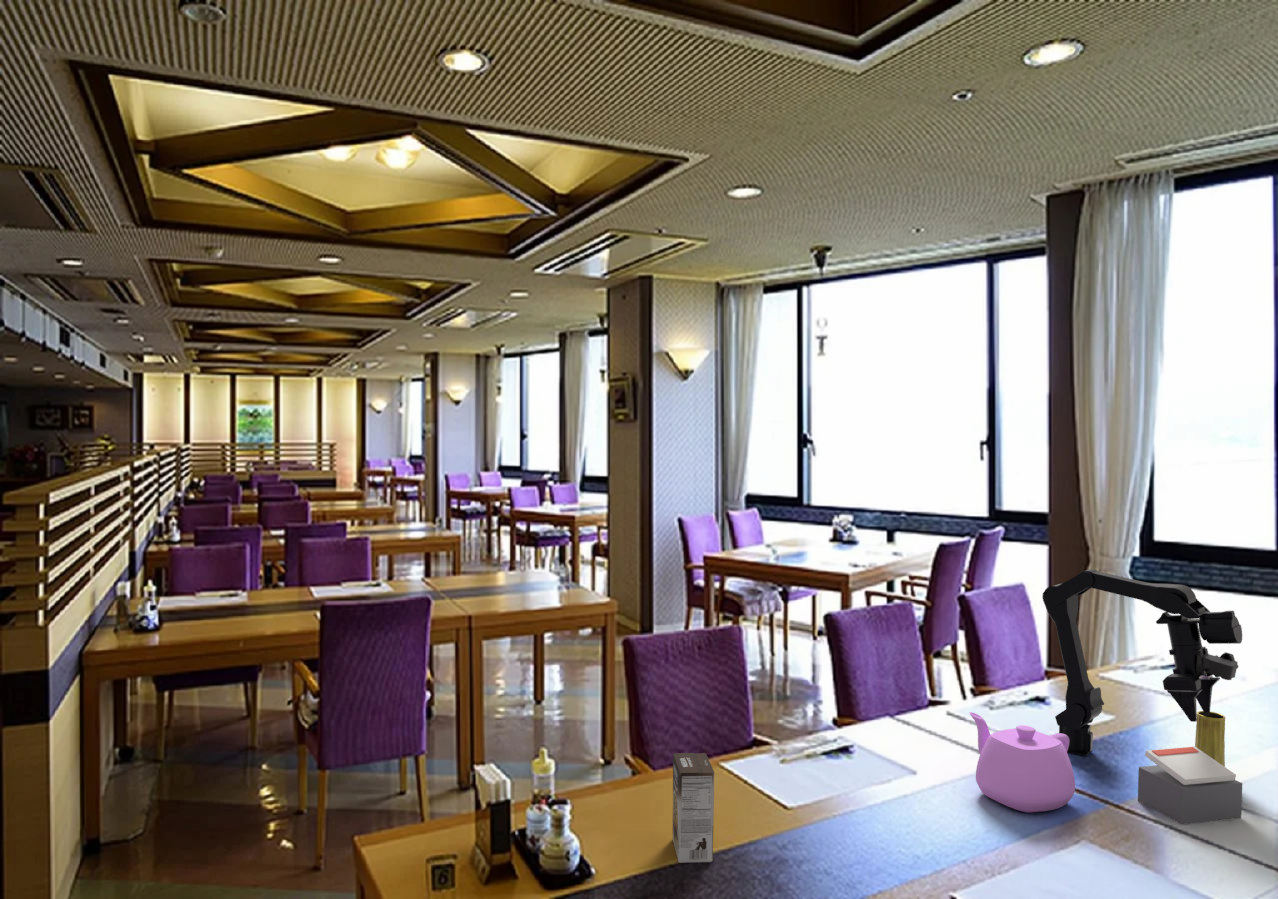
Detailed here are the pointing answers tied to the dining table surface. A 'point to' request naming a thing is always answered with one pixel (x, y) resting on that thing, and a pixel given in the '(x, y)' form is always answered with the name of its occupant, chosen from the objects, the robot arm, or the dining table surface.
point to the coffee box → (693, 807)
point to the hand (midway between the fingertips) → (1200, 716)
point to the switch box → (1189, 797)
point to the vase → (1211, 735)
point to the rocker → (1190, 765)
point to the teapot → (1024, 767)
